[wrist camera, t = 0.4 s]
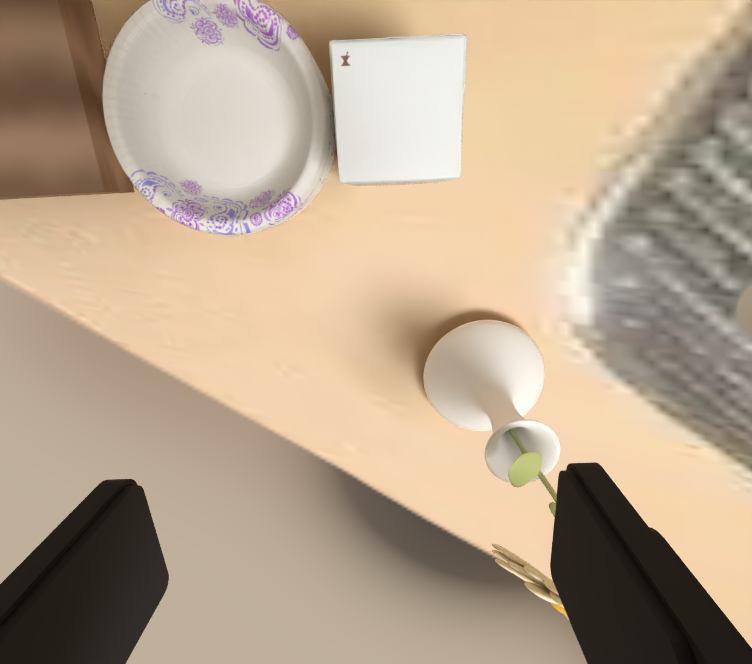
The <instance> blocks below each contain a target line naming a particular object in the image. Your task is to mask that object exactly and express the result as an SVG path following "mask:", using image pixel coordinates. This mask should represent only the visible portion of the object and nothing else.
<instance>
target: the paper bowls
mask: <svg viewBox="0 0 752 664" xmlns="http://www.w3.org/2000/svg"><path fill="white" fill-rule="evenodd" d="M102 98H103V111H104V119H105V124H106V128H107V132H108V136H109V139H110V142H111V145H112V147H113V150H114V153H115V155H116V157H117V159H118V161H119V163H120V165H121V166H122V168H123V170H124V172H125V173H126V175H127V176H128V177H129V179H130V181H131V182H132V183H133V185H134V186H135V187H136V188H137V189H138V191H139V192H140V193H141V194H142V195H143V196H144V197H145V198H146V199H147V200H148V201H149V202H150V203H151V204H152V205H153V206H155V207H156V208H157V209H159V210H160V211H161V212H162V213H164V214H165V215H167V216H168V217H170V218H171V219H173V220H175V221H176V222H179V223H181V224H183V225H185V226H187V227H190V228H192V229H195V230H199V231H202V232H206V233H210V234H216V235H231V236H235V235H246V234H252V233H256V232H259V231H262V230H265V229H269V228H272V227H274V226H277V225H279V224H282V223H284V222H286V221H288V220H290V219H292V218H293V217H295V216H297V215H298V214H299V213H300V212H302V211H303V210H304V209H305V208H306V207H307V206H308V205H309V204H310V203H311V202H312V201H313V199H314V198H315V197H316V196H317V194H318V192H319V191H320V190H321V188H322V186H323V184H324V183H325V181H326V178H327V176H328V173H329V170H330V168H331V165H332V161H333V158H334V152H335V145H336V134H335V121H334V109H333V101H332V97H331V95H330V92H329V90H328V87H327V84H326V82H325V80H324V77H323V75H322V73H321V71H320V69H319V68H318V66H317V64H316V62H315V60H314V58H313V56H312V54H311V53H310V51H309V49H308V47H307V46H306V45H305V43H304V41H303V40H302V38H301V37H300V36H299V35H298V33H297V32H296V31H295V30H294V29H293V27H292V26H291V25H290V24H289V23H288V22H287V21H286V20H285V19H284V18H283V17H282V16H281V15H280V14H279V13H277V12H276V11H275V10H274V9H272V8H271V7H269V6H268V5H267V4H265V3H263V2H261V1H260V0H149V1H147V2H146V3H145V4H143V5H142V6H141V7H140V8H139V9H138V10H136V11H135V12H134V13H133V15H132V16H131V17H130V18H129V19H128V20H127V21H126V22H125V24H124V25H123V27H122V28H121V30H120V32H119V33H118V35H117V37H116V39H115V41H114V43H113V45H112V48H111V50H110V53H109V56H108V59H107V62H106V68H105V73H104V78H103V95H102Z"/></svg>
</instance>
